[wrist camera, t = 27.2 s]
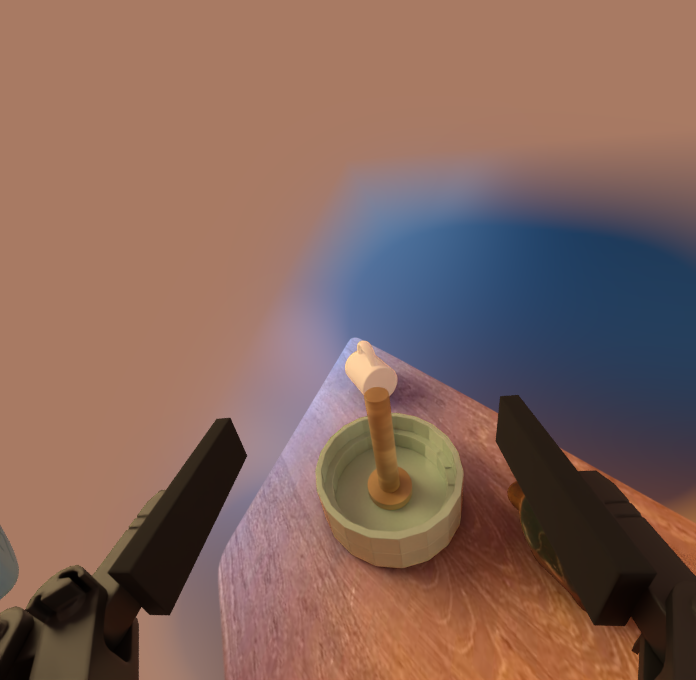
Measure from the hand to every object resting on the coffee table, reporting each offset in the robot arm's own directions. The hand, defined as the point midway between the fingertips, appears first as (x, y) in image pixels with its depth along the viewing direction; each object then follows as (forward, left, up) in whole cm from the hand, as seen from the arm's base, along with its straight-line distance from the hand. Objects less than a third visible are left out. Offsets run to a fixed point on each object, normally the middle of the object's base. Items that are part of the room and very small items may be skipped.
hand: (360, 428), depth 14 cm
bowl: (-6, +15, -29) cm, 33 cm away
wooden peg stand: (-6, +15, -28) cm, 32 cm away
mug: (-18, +38, -29) cm, 51 cm away
